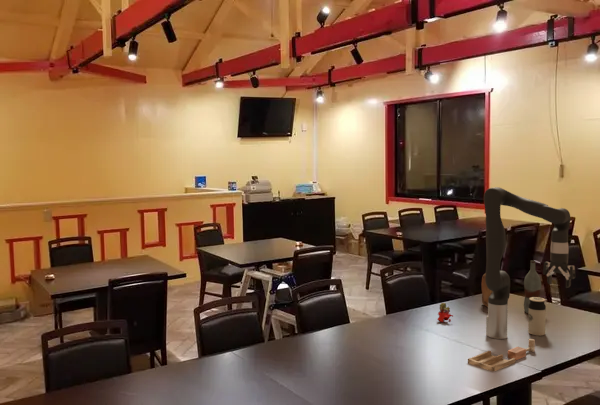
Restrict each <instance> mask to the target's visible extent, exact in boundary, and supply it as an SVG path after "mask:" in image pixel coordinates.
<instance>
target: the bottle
mask: <svg viewBox="0 0 600 405" xmlns="http://www.w3.org/2000/svg"><path fill="white" fill-rule="evenodd" d="M529 268H530V270H529V271H528V273H526V275H525V277H524V281H523V285H524V286H523V287H524V288H523V289H524V300H523V309H524V313H527V314H529V303H530V299H529V298H531V297H540V298H541V288H542V279H541V277H540V275H539V274H538V272H537V270H536V260H530V267H529Z"/></svg>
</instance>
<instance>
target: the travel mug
mask: <svg viewBox="0 0 600 405" xmlns="http://www.w3.org/2000/svg"><path fill="white" fill-rule="evenodd" d="M529 299H530V303H529V313H528V328H527V329H528V332H527V333H528V334H529V335H532V336H538V337H540V336H544V335H545V334H546V318H547V317H546V314H547V313H546V310H547V308H546V307H547V306H546V303H545V302H546V299H545V298H543V297H541V296H540V297H531V298H529Z"/></svg>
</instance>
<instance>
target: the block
mask: <svg viewBox="0 0 600 405" xmlns="http://www.w3.org/2000/svg"><path fill="white" fill-rule="evenodd" d="M485 275H486V272H485V273H484V274H483V275H482V277H481V293H482V294H481V304H482V305H483V306H485V307H487V308H488V298H489V296H490V295H491V294H492V292H493V291H491V290H489V289H488V287H487V285H486V282H485Z"/></svg>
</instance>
